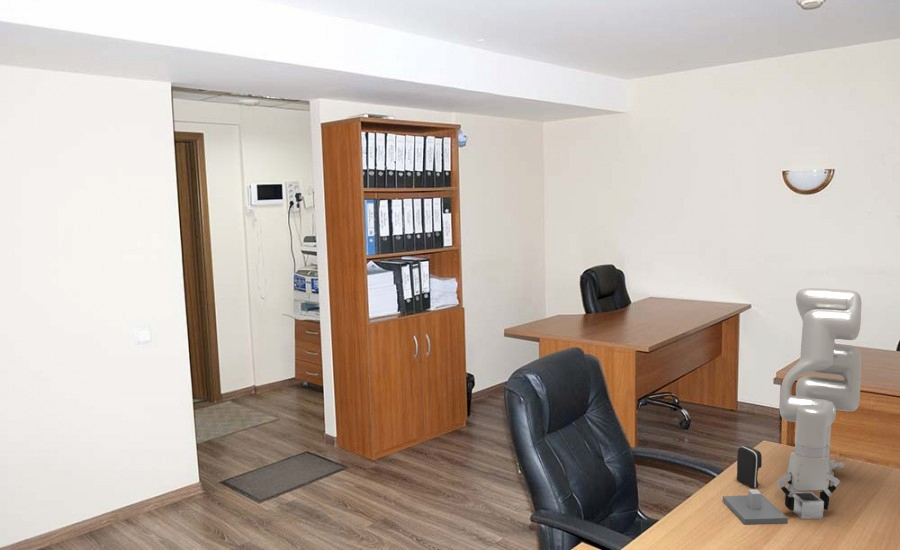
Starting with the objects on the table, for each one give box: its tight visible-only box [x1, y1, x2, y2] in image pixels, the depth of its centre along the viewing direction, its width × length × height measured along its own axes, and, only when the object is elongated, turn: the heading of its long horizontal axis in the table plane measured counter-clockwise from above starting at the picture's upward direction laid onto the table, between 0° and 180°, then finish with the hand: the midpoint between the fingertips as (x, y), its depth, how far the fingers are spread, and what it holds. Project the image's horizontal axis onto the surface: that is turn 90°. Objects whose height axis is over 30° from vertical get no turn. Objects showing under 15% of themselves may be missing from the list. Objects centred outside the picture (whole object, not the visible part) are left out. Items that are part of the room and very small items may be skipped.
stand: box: [722, 489, 789, 525], centre depth 194 cm, size 12×14×6 cm
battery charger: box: [736, 445, 763, 488], centre depth 212 cm, size 7×4×11 cm, turn 23°
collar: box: [792, 491, 824, 520], centre depth 193 cm, size 6×6×5 cm
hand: (806, 508), depth 193 cm, fingers open, 9 cm apart
